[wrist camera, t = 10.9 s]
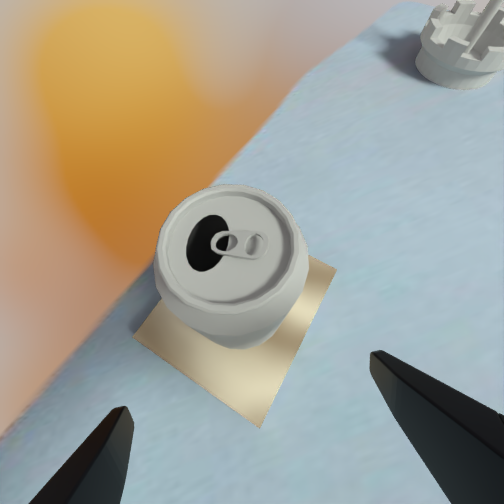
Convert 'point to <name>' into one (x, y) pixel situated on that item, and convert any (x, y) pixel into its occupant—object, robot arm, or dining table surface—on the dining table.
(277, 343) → the board
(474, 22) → the flag stand
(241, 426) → the dining table surface
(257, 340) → the can
